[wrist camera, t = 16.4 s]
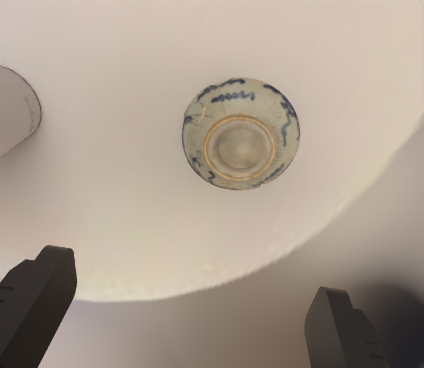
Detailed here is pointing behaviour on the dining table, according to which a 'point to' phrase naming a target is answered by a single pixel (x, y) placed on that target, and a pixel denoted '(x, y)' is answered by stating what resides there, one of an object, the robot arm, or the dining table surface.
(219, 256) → the dining table surface
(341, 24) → the dining table surface
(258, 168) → the decorative bowl
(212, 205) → the dining table surface
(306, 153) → the dining table surface
